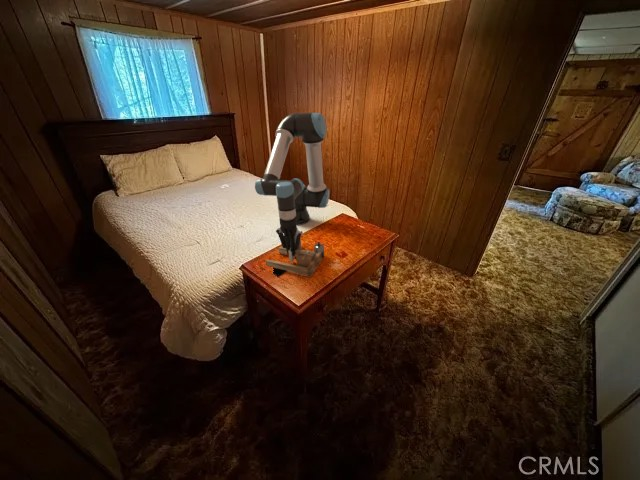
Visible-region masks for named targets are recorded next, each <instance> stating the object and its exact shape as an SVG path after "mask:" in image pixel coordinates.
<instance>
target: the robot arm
mask: <svg viewBox="0 0 640 480" xmlns="http://www.w3.org/2000/svg"><path fill="white" fill-rule="evenodd" d="M274 135H275V140H274V142H273V145H272V149H271V153H270V155H269V158H268V162H267V165H266V167H265V170H264V174H263V177H262V178H258V179H257V180H256V181H255V183H254V190H255V193H257V195H259V196H270V197H271V196H272V197H273V196H274V197H276V200H277V201H276V203H277V210H278V217H279V220H278V221H279V227H278V228H277V229H276V230H275V232H276V234H277V235H278V238H279V240H280V244H281V247H283V248H286V249H287V254H288V255H287V256H288V259H289V261H288V262H289V263H293V262H294V261H295V258H296V257H294V256H295V254H296V253H295V250H297V249H298V248H299V243H300V238H301V237H302V235H303V230H302V231H300V230H299V229H298V226H301V225H305V224H307V223H308V222H310V220H311V218H310V217H311V216H310V213H309V211H308V208H318V209H320V208H322V209H324V208H326V207H327V206H328V203H329V200H330V192H331V191H330V189H329V188H327V185H326V184H325V183H324V172H323V171H324V170H323V155H322V143H323V142H324V140H325V139H324V138H326V137H327V122H326V118H325V116H324V115H323V114H322V113H319V112H293V113H290V114H288V115H287V116H285V117H284V118H283V119H282V120H281V121H280V123H279V124H278V126H277V127H276V130H275V134H274ZM295 138H301V142H302V143H303V144H304V146H305V154H306V156H305V157H306V165H307V167H306V168H307V174H308V183H309V184H308V185H307V186H306V185H305V184H304V182H303V181H302V180H301V179H300V178H295V177H294V178H292V179H290V180H287V179H280V178H281V174H282V173H283V172H282V171H283V168H284V164H285V161H286V158H287V155H288V152H289V148H290V145H291V143H293V141H294V139H295ZM295 233H297V237H296V242H295V237H294V236H295ZM290 244H291V245H290ZM290 247H291V248H290Z"/></svg>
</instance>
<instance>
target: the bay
mask: <svg viewBox="0 0 640 480" xmlns="http://www.w3.org/2000/svg"><path fill="white" fill-rule="evenodd" d="M301 251H302V249H301V250H295V253H296V254H295V256H294V258H296V257H297V256H298V254H299V252H301ZM279 253H281V254H280V255H284V254H285V256H289V255H288V254H287V249H286V248H283V247H282V246H279V247H278V254H279ZM265 261H266V265H267V266H270V267H273V268H277V269H282V270H286V271H287V272H286V273H292V274H297V275H300V276H301V275H302V276H306V277H310V278H311V277H312V276H313V274H314V273H315V271H316V270H317V268H318V267H319V265H320V263H321V262H322V261H323V258H322V252H318V253H317V254H316V256H315V257H314V259H313V260H312V261H311V263H310V264H309V266H308V267H307V268H306V267H301V266H297V264H296V265H295V264H291V263H286V262H281V261H278V260H273V259H271V260H268V258H267V259H266V260H265Z"/></svg>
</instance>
